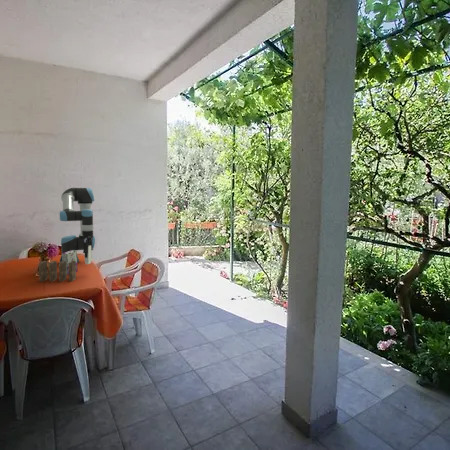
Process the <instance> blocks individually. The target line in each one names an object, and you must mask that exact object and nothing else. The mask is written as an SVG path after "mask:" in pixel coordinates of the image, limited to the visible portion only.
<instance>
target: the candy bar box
mask: <svg viewBox="0 0 450 450" xmlns="http://www.w3.org/2000/svg"><path fill="white" fill-rule="evenodd" d="M77 251H78V250H77ZM77 251H73V250H72V251H68V252H65V253H62V252H61V255H62V261H66V272H67V276H69V268H68V263H70V262H71V261H76V272H78V271H79V270H78V263H77V256H78V253H77Z"/></svg>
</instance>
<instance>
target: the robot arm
mask: <svg viewBox="0 0 450 450" xmlns="http://www.w3.org/2000/svg"><path fill="white" fill-rule="evenodd" d="M94 197H95V196H94V191H93V189H92V188H90V187H70V188H68V189H66V190H64V191H63V193H61V201H62V211H59V221H60V222H80V233H79V234H78V236H77V235H75V234H71V235H67V236H66V235H65V236H63V237H61V240H60V246H61V250H60V251H61V255H60V259H59V263H60V262H62V253H65V252H68V251H72V250H73V251H83V252H82V253H83V254H84V262H89V253H88V247H89V245H91V256H92V257H93V251H94V248H95V244H96V237H95V235H94V223H93V222H94V217H93V216H94V213H93V210H92V208H91V207H92V205H93V203H94V202H95V198H94ZM74 202H77V204H78V205H79V210H74ZM78 263H80V259H79V256H78V255H77V264H78Z"/></svg>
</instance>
